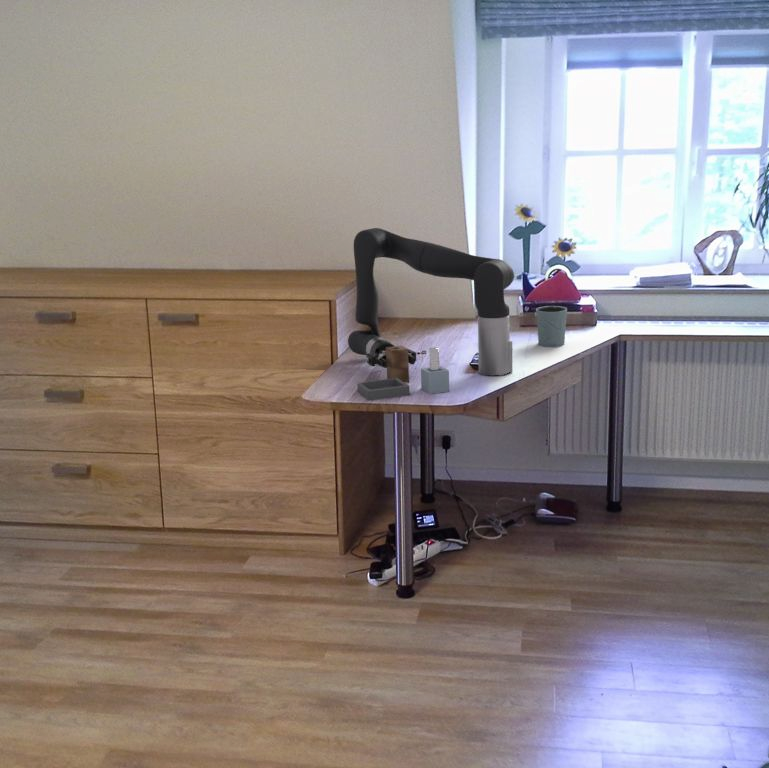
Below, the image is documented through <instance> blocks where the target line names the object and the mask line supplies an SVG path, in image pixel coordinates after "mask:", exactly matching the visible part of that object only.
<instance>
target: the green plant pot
mask: <svg viewBox="0 0 769 768" xmlns="http://www.w3.org/2000/svg"><path fill="white" fill-rule="evenodd" d="M535 314H536V321H537V322H536V324H537V339H538V341H537V343H538V345H539V346H541V347H544V348H545V347H548V348H552V347H553V348H554V347H555V348H556V347H563V346H564V345H565V341H566V340H565V338H566V336H565V335H566V326H567V314H568V308H567V307H566V306H560V305H557V306H556V305H545V306H539V307H537V308H535Z"/></svg>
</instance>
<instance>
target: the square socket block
mask: <svg viewBox="0 0 769 768" xmlns="http://www.w3.org/2000/svg"><path fill="white" fill-rule="evenodd" d="M420 381H421V383H420V384H421V385H420V386H421V387H420V388H421V390H422V391H424V392H425V393H427V394H428V395H435V394H441V393H447V392H448V391H449V392H450V370H449V369H447V368H445V367H444V366H442V365H439V371H432V372H431V371H430V366H429V367H421V368H420Z"/></svg>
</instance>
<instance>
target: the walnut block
mask: <svg viewBox="0 0 769 768" xmlns="http://www.w3.org/2000/svg"><path fill="white" fill-rule="evenodd" d="M408 349H409V348H407V347H406V346H404V345H395V346H393V347H386V361H387V368H386V379H392V378H398V379H400V380H401V381H403V382H408V383H410V373H409V371H410V370H409V367H410V366H409V365H410V363H408Z"/></svg>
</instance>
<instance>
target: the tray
mask: <svg viewBox="0 0 769 768" xmlns="http://www.w3.org/2000/svg"><path fill="white" fill-rule="evenodd" d="M356 385H357V387H356V388H357V392H358V393H359V394H360V395H361V396H363V397H364V398H365V399H366V400H368V401H373V400H380V399H386V398H387V399H388V398H394V397H401V396H409V395H411V393H410V392H411V389H410V387H411V386H410V385H409V384H408V383H404V382H403V381H401V380H400V379H398V378H392V379H387V378H384V379H377V380H371V381H370V380H369V381H363V382H362V381H361V382H357V383H356Z"/></svg>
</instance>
